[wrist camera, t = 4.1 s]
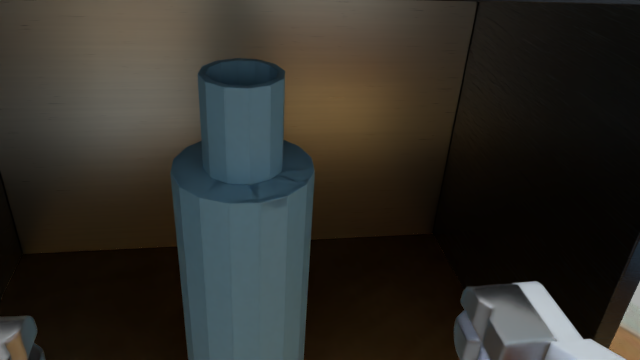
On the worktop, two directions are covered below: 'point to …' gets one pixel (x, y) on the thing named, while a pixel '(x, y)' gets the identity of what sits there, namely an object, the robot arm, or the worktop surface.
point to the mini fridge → (345, 128)
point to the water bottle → (243, 219)
